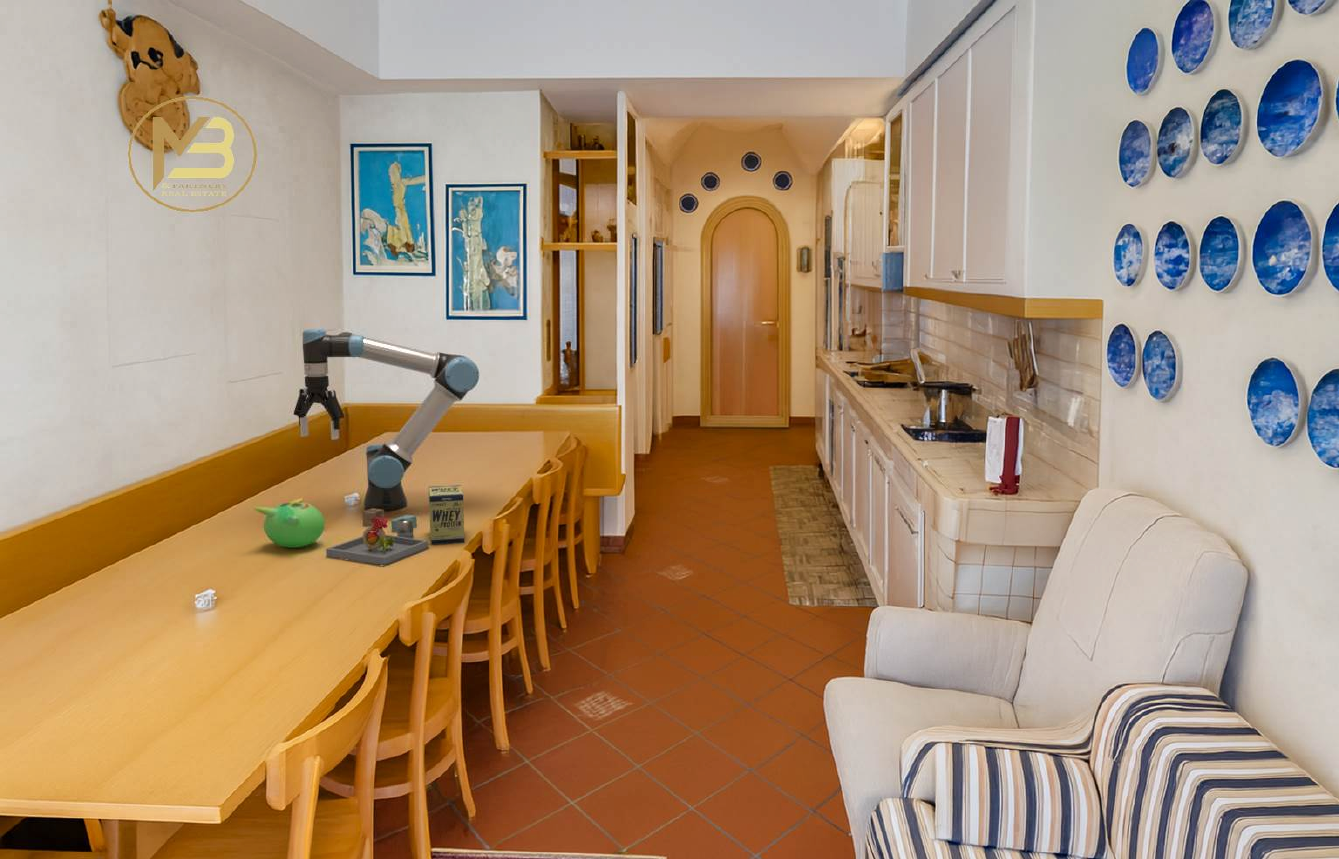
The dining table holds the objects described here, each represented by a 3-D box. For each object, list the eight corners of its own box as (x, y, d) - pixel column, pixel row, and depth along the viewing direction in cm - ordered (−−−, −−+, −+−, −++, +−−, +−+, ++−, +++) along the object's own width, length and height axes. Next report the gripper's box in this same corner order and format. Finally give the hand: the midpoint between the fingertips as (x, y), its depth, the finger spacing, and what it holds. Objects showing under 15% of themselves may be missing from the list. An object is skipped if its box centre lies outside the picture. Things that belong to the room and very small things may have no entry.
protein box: (431, 545, 296) (429, 496, 294) (429, 532, 311) (428, 486, 309) (465, 542, 299) (463, 494, 297) (462, 530, 314) (460, 484, 311)
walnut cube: (373, 522, 323) (372, 508, 322) (384, 524, 321) (384, 509, 320) (362, 526, 319) (362, 511, 318) (374, 527, 317) (373, 513, 316)
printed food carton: (367, 560, 285) (393, 549, 284) (350, 527, 284) (377, 515, 282) (374, 554, 291) (400, 543, 290) (359, 522, 290) (385, 510, 289)
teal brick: (391, 532, 312) (391, 520, 311) (406, 526, 319) (406, 514, 318) (401, 533, 310) (401, 521, 310) (416, 527, 318) (416, 515, 317)
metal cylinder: (404, 536, 306) (403, 517, 306) (416, 537, 304) (416, 519, 303) (394, 539, 302) (393, 521, 301) (406, 541, 300) (405, 523, 299)
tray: (373, 540, 301) (372, 532, 301) (428, 548, 292) (428, 540, 292) (326, 556, 283) (326, 548, 283) (384, 566, 274) (384, 558, 274)
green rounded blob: (336, 542, 299) (333, 497, 296) (299, 557, 283) (296, 509, 281) (289, 537, 304) (287, 492, 302) (251, 551, 289) (247, 504, 286)
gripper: (280, 374, 320) (284, 436, 323) (336, 378, 310) (340, 442, 313) (297, 372, 327) (300, 433, 330) (353, 376, 317) (356, 438, 320)
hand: (319, 437), depth 322 cm, fingers open, 13 cm apart
